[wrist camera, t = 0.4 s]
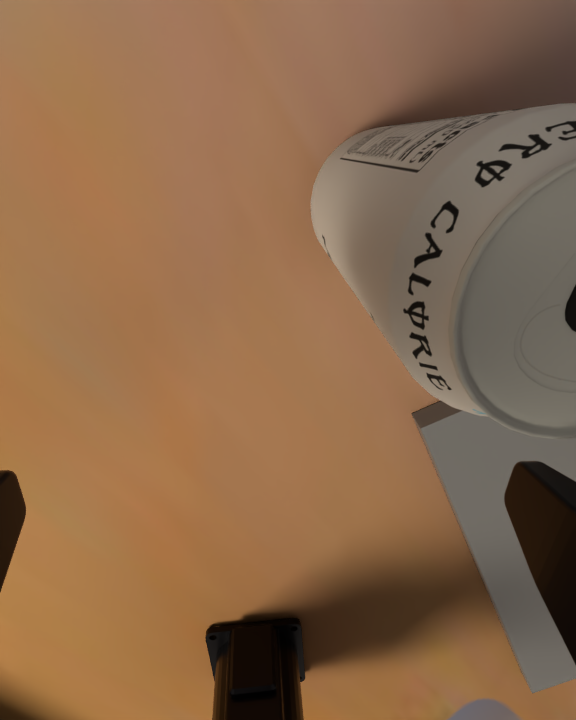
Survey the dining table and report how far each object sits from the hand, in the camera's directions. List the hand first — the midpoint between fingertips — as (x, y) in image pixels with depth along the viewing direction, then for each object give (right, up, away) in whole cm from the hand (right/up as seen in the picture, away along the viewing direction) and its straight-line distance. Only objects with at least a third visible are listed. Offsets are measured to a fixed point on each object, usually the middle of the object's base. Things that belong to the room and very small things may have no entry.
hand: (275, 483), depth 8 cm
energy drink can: (+4, +9, +13) cm, 16 cm away
